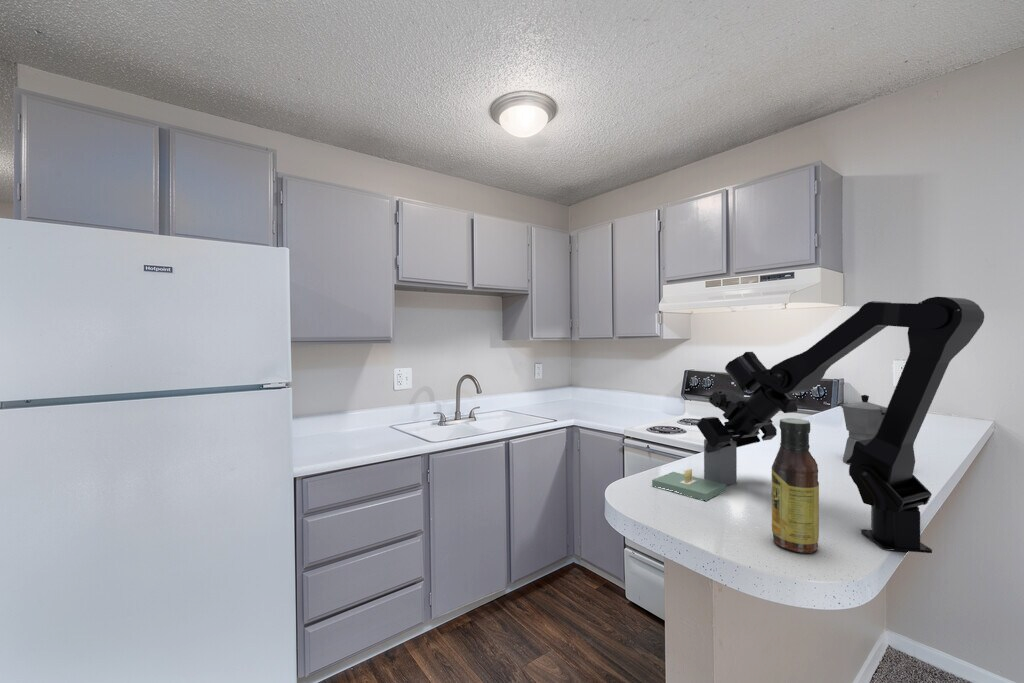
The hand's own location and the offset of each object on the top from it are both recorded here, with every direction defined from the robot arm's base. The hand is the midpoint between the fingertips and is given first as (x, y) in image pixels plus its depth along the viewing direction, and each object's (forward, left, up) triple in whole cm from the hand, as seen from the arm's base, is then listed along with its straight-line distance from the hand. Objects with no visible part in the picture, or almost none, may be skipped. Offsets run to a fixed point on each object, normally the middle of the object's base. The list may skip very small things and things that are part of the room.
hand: (715, 449), depth 101 cm
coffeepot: (+20, -42, -7) cm, 47 cm away
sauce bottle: (-32, -4, -7) cm, 33 cm away
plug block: (-1, -1, -7) cm, 7 cm away
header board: (-7, +7, -7) cm, 12 cm away
